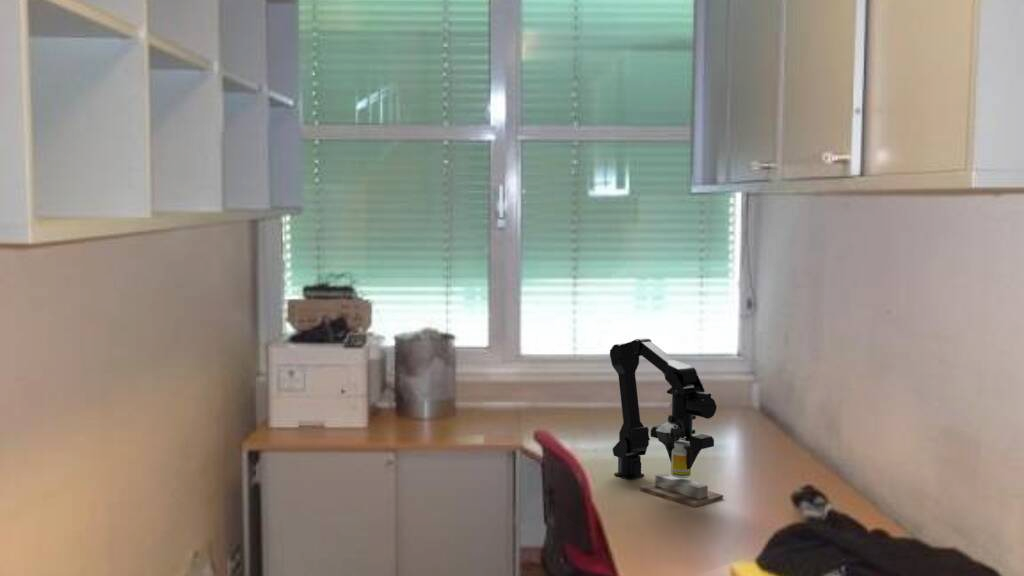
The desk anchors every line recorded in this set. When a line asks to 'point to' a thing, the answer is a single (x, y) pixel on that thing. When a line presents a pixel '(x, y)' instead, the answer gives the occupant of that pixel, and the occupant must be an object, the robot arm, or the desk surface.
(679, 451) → the supplement bottle
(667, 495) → the ridge board
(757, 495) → the desk surface
